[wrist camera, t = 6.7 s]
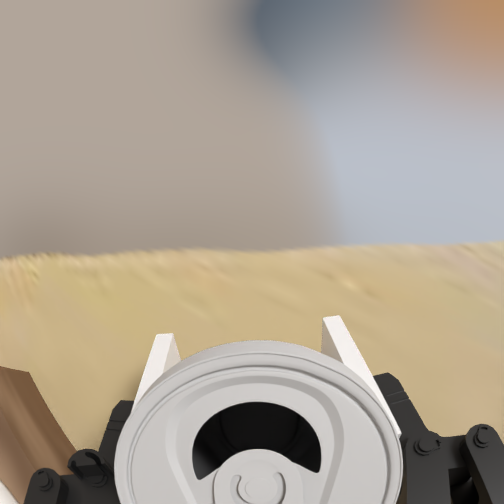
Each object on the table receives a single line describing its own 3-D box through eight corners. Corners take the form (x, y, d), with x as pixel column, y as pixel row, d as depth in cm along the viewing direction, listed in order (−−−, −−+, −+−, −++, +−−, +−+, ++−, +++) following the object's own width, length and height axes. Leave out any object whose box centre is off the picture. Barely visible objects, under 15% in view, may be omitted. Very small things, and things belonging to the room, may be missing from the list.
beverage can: (311, 360, 16) (407, 309, 5) (319, 464, 14) (411, 569, 3) (199, 368, 16) (89, 330, 5) (206, 472, 14) (123, 585, 3)
